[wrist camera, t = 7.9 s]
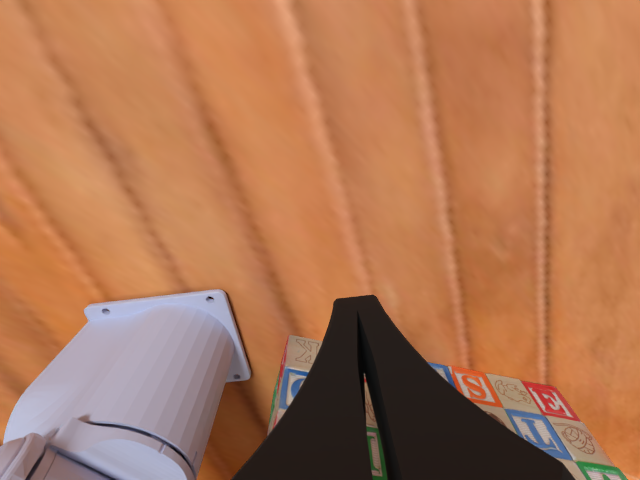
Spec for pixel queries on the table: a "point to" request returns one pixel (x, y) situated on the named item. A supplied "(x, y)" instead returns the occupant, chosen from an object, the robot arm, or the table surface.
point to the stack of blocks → (487, 393)
